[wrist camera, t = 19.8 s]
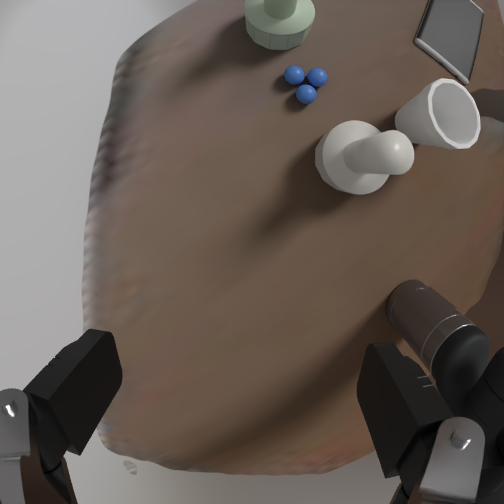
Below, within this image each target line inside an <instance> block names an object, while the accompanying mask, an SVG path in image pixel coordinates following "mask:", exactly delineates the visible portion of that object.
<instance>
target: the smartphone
mask: <svg viewBox="0 0 504 504" xmlns="http://www.w3.org/2000/svg"><path fill="white" fill-rule="evenodd" d="M483 16H484V13H483V11H482V10H481V9H480V8H479V7H478V6H477V5H476V4H475V3H474V2H472V1H471V0H429V3H428V6H427V8H426V11H425V14H424V16H423V19H422V22H421V24H420V27H419V29H418V32H417V34H416V37H415V39H414V41H415V43H416V44H417V45H418V46H419V47H420V48H422V49H423V50H424V51H426V52H427V53H428V54H430V55H431V56H432V57H433V58H435V59H436V60H437V61H438V62H440V63H441V64H442V65H443V66H444V67H446V68H447V69H448V70H449V71H450V72H451V73H452V74H454V75H457V78H458V79H459V80H460V81H461V82H462V83H463V84H468V83H469V81H470V78H471V74H472V70H473V66H474V62H475V58H476V53H477V49H478V44H479V39H480V34H481V28H482V22H483Z"/></svg>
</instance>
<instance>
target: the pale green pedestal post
mask: <svg viewBox="0 0 504 504" xmlns="http://www.w3.org/2000/svg"><path fill="white" fill-rule="evenodd" d="M244 13H245V20H246V30H247V33H248V34H249V35H250V37H251V38H252V40H253V41H254V42H255V43H257V44H259V45H261V46H263V47H265V48H267V49H270V50H288V49H291V48H294V47H296V46H299V45H301V43H302V42H303V41H304V39H305V38H306V37H307V36H308V34H309V31H310V28H311V25H312V22H313V20H314V16H315V8H314V5H313V3H312V2H311V0H246V1H245V4H244Z"/></svg>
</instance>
